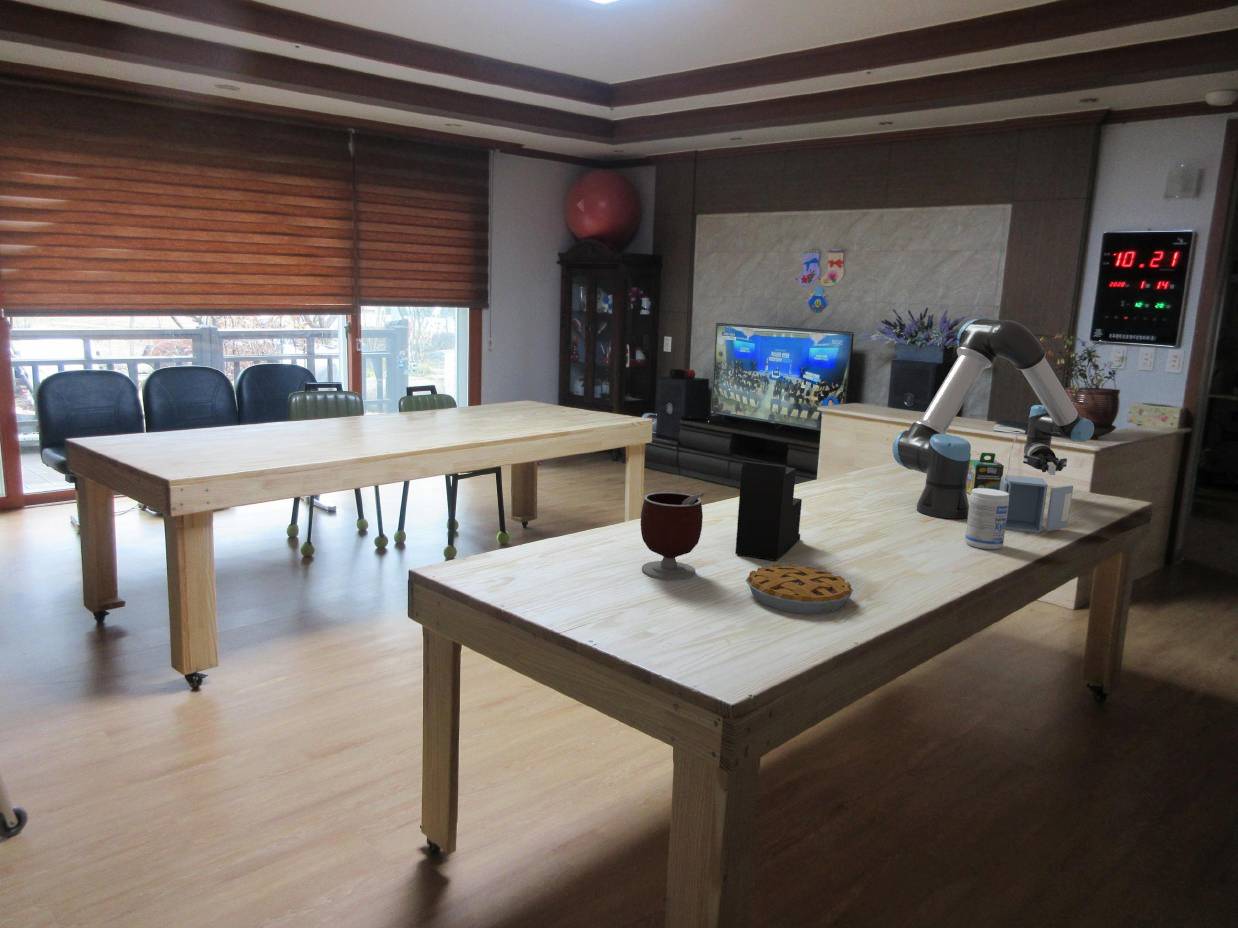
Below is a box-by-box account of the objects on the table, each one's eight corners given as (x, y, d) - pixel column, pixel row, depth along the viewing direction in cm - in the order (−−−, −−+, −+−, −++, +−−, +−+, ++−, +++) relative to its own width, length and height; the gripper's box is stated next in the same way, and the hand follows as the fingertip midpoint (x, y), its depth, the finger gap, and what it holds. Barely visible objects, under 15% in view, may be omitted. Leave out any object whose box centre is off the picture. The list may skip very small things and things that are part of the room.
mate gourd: (625, 569, 202) (629, 484, 198) (666, 558, 212) (671, 476, 208) (676, 587, 191) (681, 497, 187) (717, 575, 201) (723, 489, 197)
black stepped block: (761, 533, 238) (768, 447, 234) (801, 540, 234) (808, 452, 229) (734, 555, 217) (740, 461, 213) (777, 562, 213) (785, 467, 208)
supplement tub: (1000, 552, 230) (1007, 497, 227) (961, 546, 235) (968, 492, 232) (1004, 544, 238) (1011, 491, 236) (967, 538, 243) (974, 485, 240)
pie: (800, 624, 174) (802, 600, 173) (724, 591, 191) (726, 569, 190) (872, 605, 186) (874, 583, 185) (795, 576, 204) (796, 555, 203)
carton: (998, 528, 255) (1005, 480, 253) (995, 520, 265) (1001, 474, 262) (1040, 532, 252) (1047, 484, 250) (1035, 524, 262) (1042, 478, 259)
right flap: (1048, 530, 252) (1054, 488, 249) (1045, 530, 252) (1051, 487, 250) (1067, 527, 257) (1073, 485, 254) (1064, 526, 257) (1070, 484, 255)
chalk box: (992, 493, 303) (997, 450, 300) (1000, 499, 294) (1006, 455, 291) (964, 491, 304) (969, 449, 301) (972, 497, 295) (977, 453, 292)
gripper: (1061, 469, 289) (1075, 484, 267) (1018, 466, 292) (1027, 480, 270) (1064, 447, 287) (1078, 460, 265) (1021, 443, 291) (1030, 456, 269)
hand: (1052, 470), depth 268 cm, fingers closed
